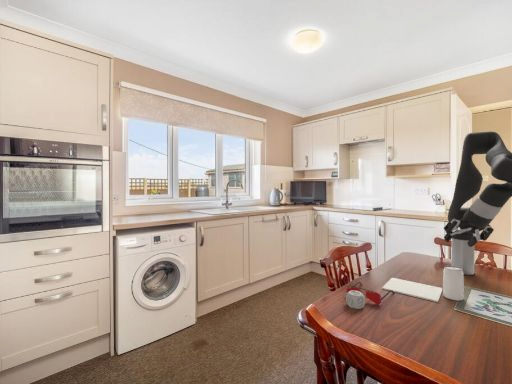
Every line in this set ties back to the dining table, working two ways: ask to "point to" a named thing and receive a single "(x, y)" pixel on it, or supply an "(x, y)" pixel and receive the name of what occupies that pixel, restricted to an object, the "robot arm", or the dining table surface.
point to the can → (453, 283)
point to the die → (355, 299)
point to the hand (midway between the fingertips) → (457, 242)
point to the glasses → (369, 294)
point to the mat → (414, 289)
